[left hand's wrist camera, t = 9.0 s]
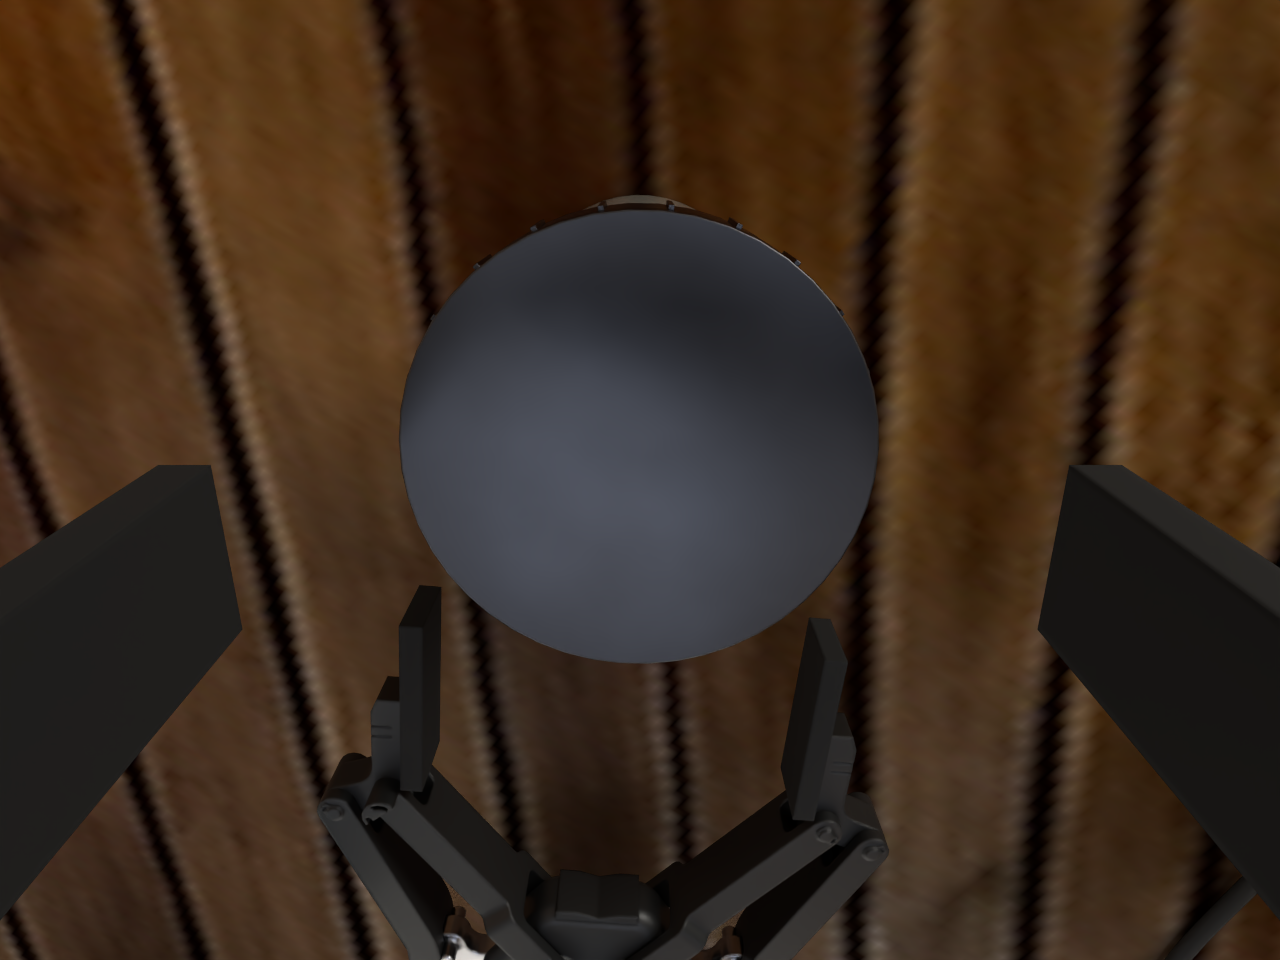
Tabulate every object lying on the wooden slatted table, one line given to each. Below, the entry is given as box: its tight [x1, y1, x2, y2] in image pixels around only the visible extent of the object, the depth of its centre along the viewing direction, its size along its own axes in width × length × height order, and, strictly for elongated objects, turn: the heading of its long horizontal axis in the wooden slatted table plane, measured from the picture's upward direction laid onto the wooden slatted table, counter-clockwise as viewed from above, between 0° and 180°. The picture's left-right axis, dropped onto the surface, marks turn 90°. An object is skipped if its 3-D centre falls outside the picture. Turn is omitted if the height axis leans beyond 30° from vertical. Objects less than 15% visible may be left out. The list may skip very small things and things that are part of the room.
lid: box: [399, 200, 879, 663], centre depth 17 cm, size 9×9×2 cm
